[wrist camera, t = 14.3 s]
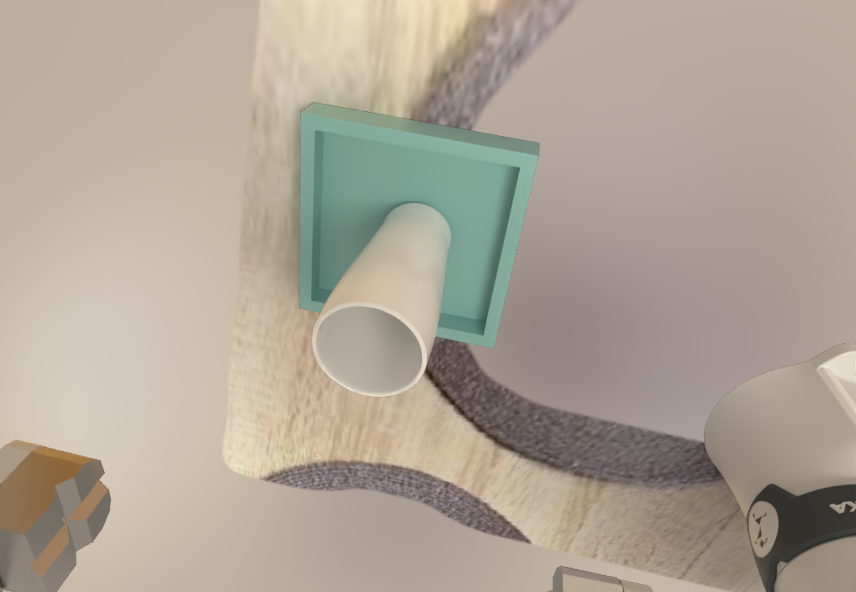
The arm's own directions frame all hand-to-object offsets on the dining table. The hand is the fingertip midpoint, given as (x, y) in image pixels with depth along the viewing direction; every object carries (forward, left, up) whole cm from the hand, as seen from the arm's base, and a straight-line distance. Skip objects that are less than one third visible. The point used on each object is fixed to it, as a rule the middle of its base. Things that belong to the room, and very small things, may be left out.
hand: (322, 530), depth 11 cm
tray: (+4, +12, -35) cm, 37 cm away
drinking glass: (+3, +12, -35) cm, 37 cm away
